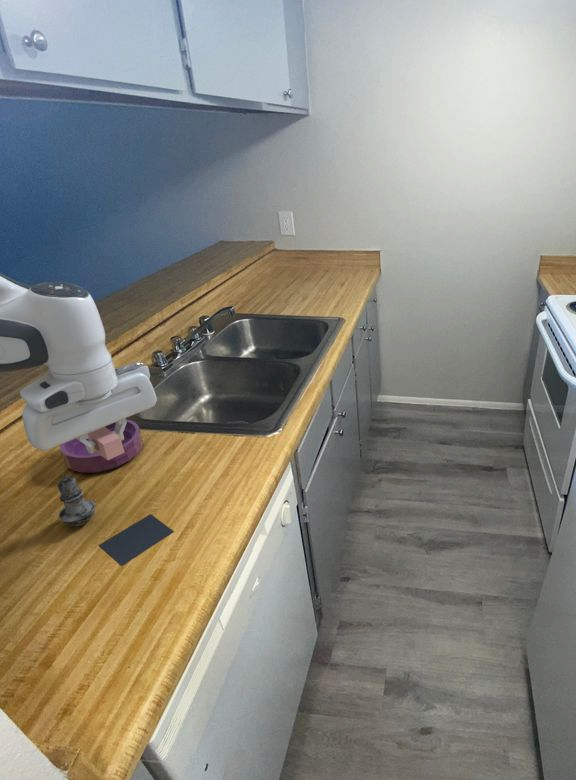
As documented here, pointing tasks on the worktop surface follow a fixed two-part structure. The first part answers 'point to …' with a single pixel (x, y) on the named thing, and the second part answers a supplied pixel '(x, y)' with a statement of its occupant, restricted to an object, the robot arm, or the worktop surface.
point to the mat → (135, 539)
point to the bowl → (94, 462)
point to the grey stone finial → (74, 503)
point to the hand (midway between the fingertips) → (106, 445)
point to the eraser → (107, 443)
